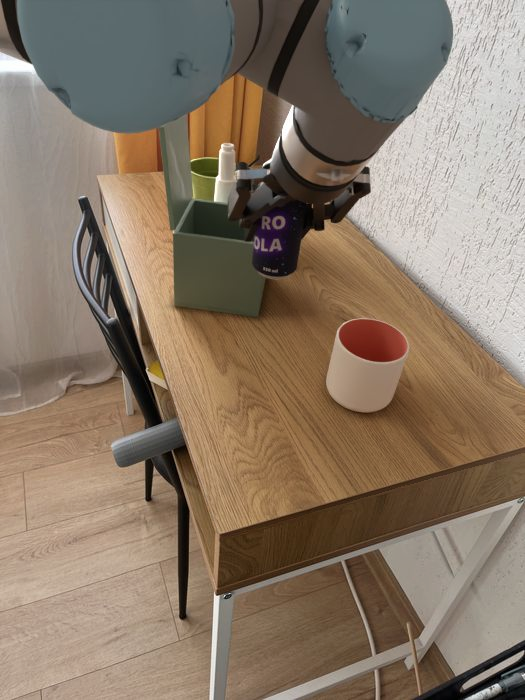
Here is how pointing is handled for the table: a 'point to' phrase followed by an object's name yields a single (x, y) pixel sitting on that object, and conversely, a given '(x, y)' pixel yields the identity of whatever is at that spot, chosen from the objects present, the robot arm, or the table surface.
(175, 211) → the lid
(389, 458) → the table surface
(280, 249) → the beverage can
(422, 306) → the table surface
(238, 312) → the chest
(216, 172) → the plant pot
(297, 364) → the table surface
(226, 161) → the cosmetic bottle
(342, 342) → the cup
